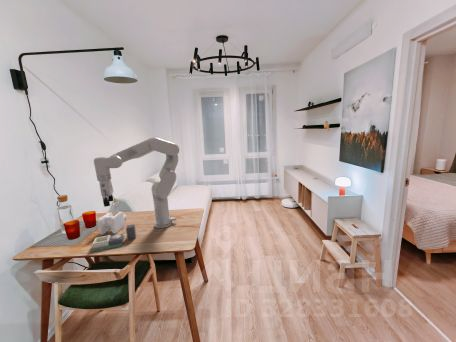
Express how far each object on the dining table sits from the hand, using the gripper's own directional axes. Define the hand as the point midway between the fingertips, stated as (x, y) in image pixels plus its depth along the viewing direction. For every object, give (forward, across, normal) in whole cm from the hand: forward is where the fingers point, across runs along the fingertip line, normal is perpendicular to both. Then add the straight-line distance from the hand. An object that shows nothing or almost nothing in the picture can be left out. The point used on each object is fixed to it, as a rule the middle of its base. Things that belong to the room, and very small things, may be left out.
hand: (109, 203), depth 136 cm
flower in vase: (+24, +30, +3) cm, 38 cm away
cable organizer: (+24, +12, +4) cm, 27 cm away
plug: (+24, -5, -11) cm, 26 cm away
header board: (+23, -8, +2) cm, 25 cm away
